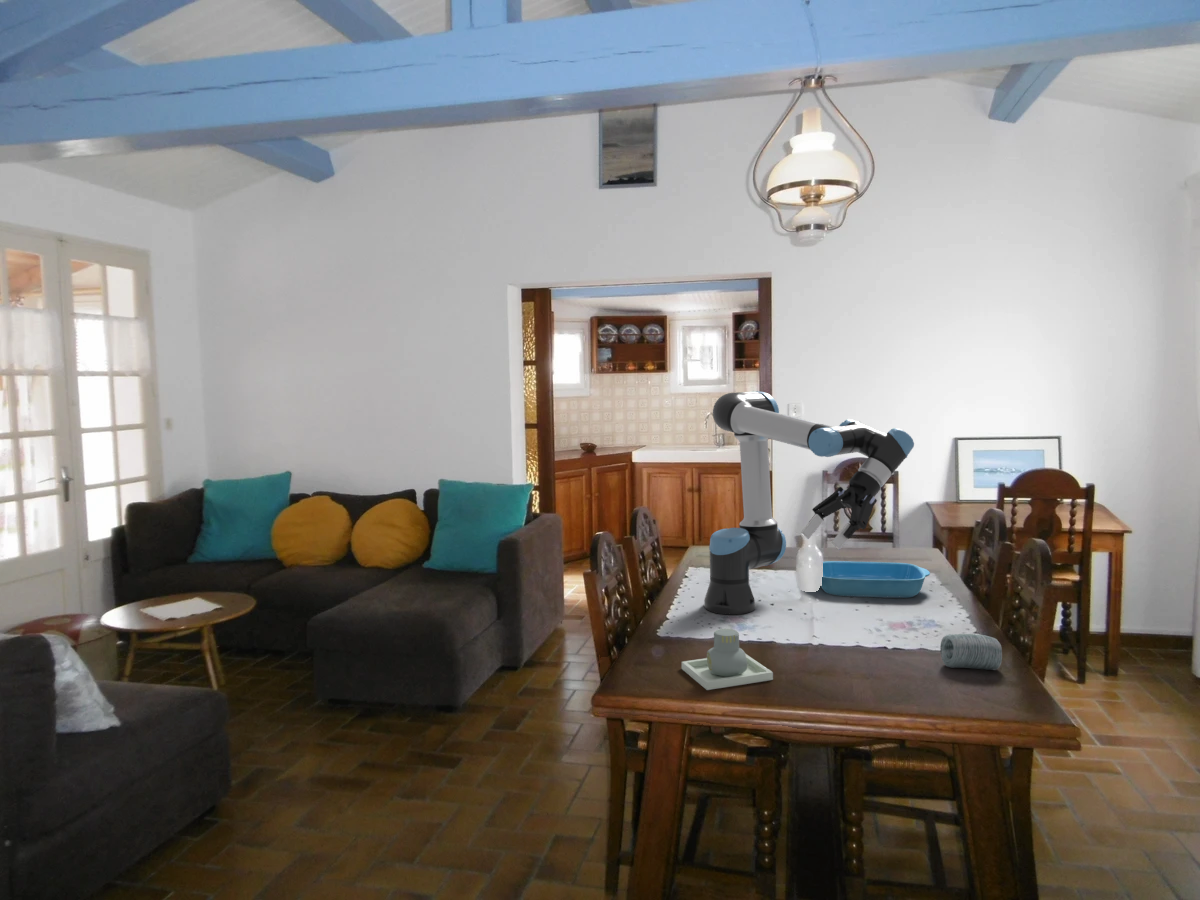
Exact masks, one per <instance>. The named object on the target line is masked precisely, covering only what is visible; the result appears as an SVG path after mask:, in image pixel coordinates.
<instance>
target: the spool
mask: <svg viewBox="0 0 1200 900" xmlns="http://www.w3.org/2000/svg"><path fill="white" fill-rule="evenodd" d="M940 657H941V660H942V662H943V664H944V665H945V667H948V668H951V669H954V668H957V669H958V668H963V669H964V668H965V669H975V670H976V669H977V670H978V669H979V670H987V671H988V670H990V671H991V670H992V671H996V670H998V669H999V668H1000V666H1001V665H1002V661H1003V649H1002V645H1001V643H1000V642H999V641H998V639H997V638H995V637H992V636H988V635H984V634H978V633H977V634H976V633H958V634H957V633H952V634H951V633H949V634H946V635H944V636H943V637H942V639H941V642H940Z"/></svg>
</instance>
